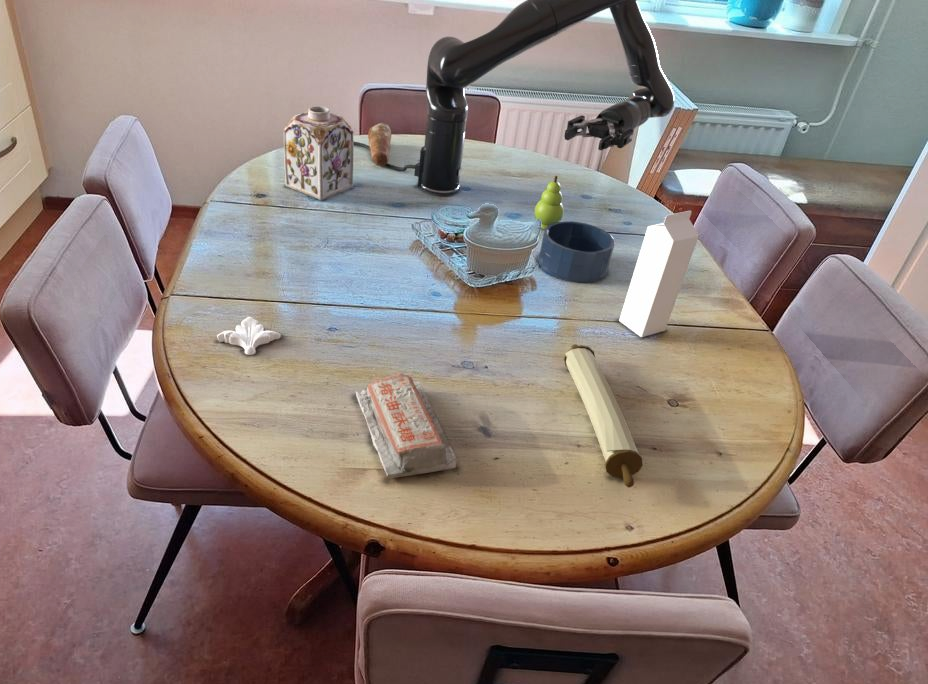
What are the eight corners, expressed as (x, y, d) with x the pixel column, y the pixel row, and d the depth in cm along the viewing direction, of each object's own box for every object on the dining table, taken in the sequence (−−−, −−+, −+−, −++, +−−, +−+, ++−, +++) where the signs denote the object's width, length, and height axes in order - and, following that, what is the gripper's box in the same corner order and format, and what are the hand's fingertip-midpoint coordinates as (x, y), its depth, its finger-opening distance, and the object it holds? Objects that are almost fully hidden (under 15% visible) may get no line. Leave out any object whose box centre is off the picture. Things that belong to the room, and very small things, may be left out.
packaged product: (462, 443, 91) (389, 455, 88) (458, 470, 94) (387, 482, 91) (420, 363, 105) (355, 371, 102) (418, 388, 108) (354, 396, 105)
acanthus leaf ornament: (217, 341, 113) (216, 332, 112) (245, 323, 118) (244, 313, 117) (253, 357, 110) (252, 347, 109) (281, 337, 115) (280, 328, 114)
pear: (527, 226, 157) (537, 176, 150) (537, 217, 162) (547, 168, 155) (554, 234, 155) (565, 184, 148) (563, 224, 160) (574, 175, 153)
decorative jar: (317, 173, 172) (317, 97, 160) (354, 187, 167) (356, 110, 156) (283, 187, 164) (280, 108, 153) (320, 201, 159) (320, 121, 148)
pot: (528, 269, 141) (534, 239, 137) (551, 243, 151) (557, 215, 147) (595, 289, 137) (603, 259, 133) (614, 261, 147) (622, 233, 143)
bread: (390, 143, 193) (392, 123, 189) (389, 169, 178) (390, 147, 174) (368, 141, 192) (368, 121, 189) (364, 167, 177) (365, 145, 174)
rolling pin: (645, 499, 93) (656, 472, 90) (604, 498, 92) (614, 471, 89) (587, 357, 118) (594, 332, 115) (554, 355, 118) (560, 331, 114)
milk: (665, 331, 127) (707, 218, 113) (640, 338, 124) (680, 223, 111) (641, 314, 131) (679, 203, 117) (617, 320, 128) (653, 207, 115)
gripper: (594, 97, 165) (557, 115, 155) (650, 111, 158) (615, 132, 148) (589, 129, 170) (553, 148, 160) (643, 144, 162) (608, 166, 153)
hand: (583, 140), depth 154 cm, fingers open, 8 cm apart
